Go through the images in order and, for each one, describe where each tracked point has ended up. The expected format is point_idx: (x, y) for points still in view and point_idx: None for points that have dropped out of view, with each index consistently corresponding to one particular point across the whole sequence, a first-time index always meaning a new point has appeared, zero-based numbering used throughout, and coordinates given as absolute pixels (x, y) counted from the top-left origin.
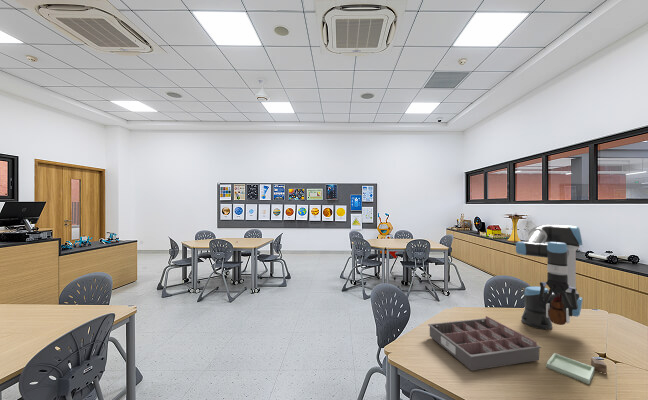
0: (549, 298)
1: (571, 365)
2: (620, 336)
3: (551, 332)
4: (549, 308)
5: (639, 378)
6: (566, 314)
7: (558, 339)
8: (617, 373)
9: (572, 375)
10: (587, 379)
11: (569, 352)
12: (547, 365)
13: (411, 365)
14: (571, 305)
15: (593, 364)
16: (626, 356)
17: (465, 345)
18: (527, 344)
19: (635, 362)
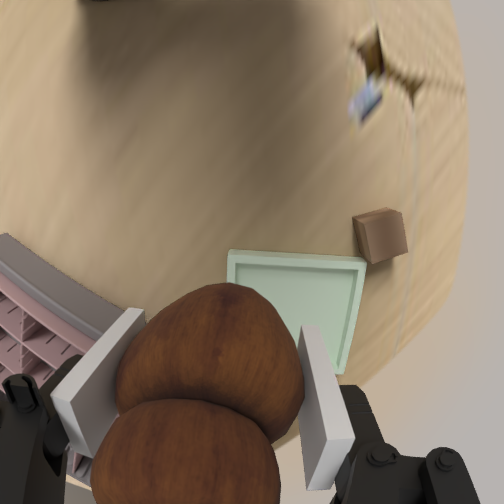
0: (32, 480)
1: (293, 288)
2: None
3: None
4: (117, 408)
5: (462, 184)
6: (302, 434)
7: (215, 26)
8: (419, 201)
9: None
10: (339, 373)
11: (272, 136)
12: None
13: (78, 483)
14: (392, 498)
15: (366, 252)
16: (425, 18)
17: (76, 460)
18: None
19: (449, 52)
